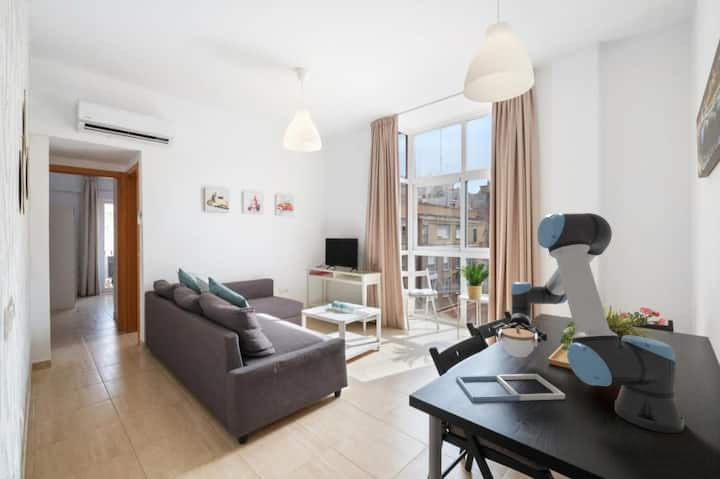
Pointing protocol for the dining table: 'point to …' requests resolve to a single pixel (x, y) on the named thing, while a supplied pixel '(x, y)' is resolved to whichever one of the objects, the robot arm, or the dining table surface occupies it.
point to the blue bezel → (483, 397)
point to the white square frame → (555, 395)
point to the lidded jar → (518, 341)
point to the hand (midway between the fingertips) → (517, 340)
